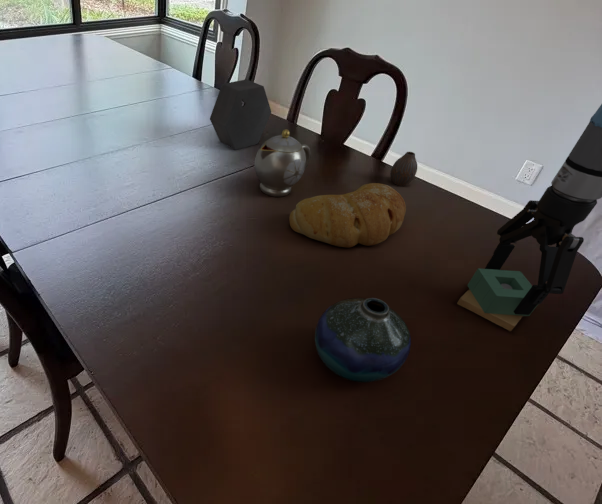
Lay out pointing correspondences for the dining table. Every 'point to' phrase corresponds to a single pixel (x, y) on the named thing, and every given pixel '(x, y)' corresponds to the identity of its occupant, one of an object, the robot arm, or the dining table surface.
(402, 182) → the vase
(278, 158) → the teapot
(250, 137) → the planter
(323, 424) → the dining table surface
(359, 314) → the vase
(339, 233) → the bread
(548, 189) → the robot arm
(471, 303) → the wooden peg base
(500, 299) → the green block with hole
